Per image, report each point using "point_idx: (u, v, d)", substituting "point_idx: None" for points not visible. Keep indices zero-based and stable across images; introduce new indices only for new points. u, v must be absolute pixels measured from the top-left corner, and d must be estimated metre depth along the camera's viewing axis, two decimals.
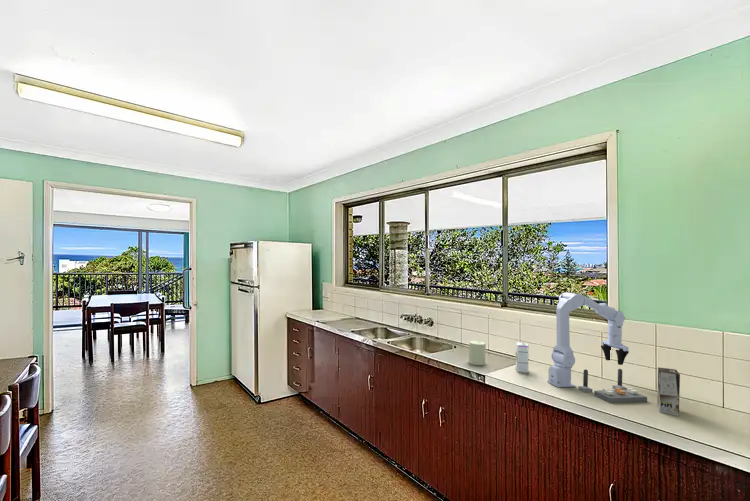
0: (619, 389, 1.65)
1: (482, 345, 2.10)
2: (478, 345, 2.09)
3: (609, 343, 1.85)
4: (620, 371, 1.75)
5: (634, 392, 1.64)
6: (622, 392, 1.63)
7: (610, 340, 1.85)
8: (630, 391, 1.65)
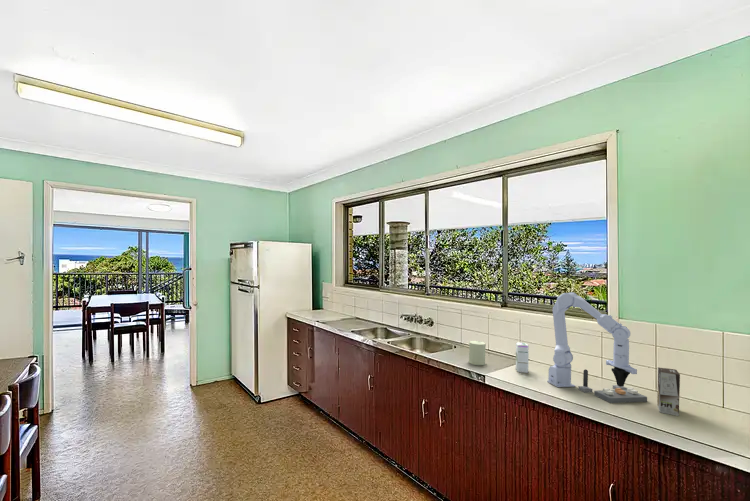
0: (619, 389, 1.65)
1: (482, 345, 2.10)
2: (478, 345, 2.09)
3: (615, 364, 1.64)
4: None
5: (634, 392, 1.64)
6: (622, 392, 1.63)
7: (616, 361, 1.64)
8: (630, 391, 1.65)
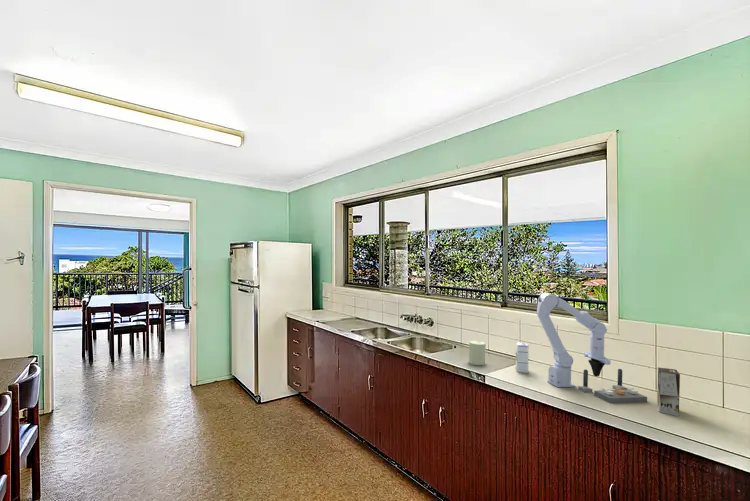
0: (619, 389, 1.65)
1: (482, 345, 2.10)
2: (478, 345, 2.09)
3: (591, 356, 1.78)
4: (620, 371, 1.75)
5: (634, 392, 1.64)
6: (622, 392, 1.63)
7: (592, 353, 1.77)
8: (630, 391, 1.65)
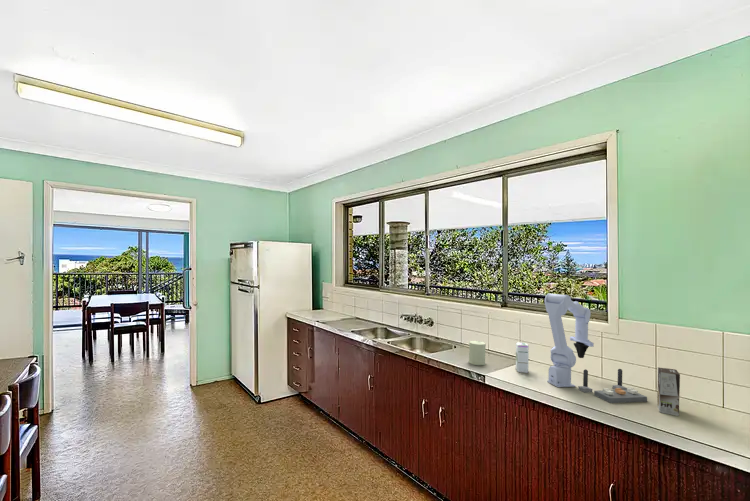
0: (619, 389, 1.65)
1: (482, 345, 2.10)
2: (478, 345, 2.09)
3: (576, 339, 1.91)
4: (620, 371, 1.75)
5: (634, 392, 1.64)
6: (622, 392, 1.63)
7: (577, 336, 1.91)
8: (630, 391, 1.65)
